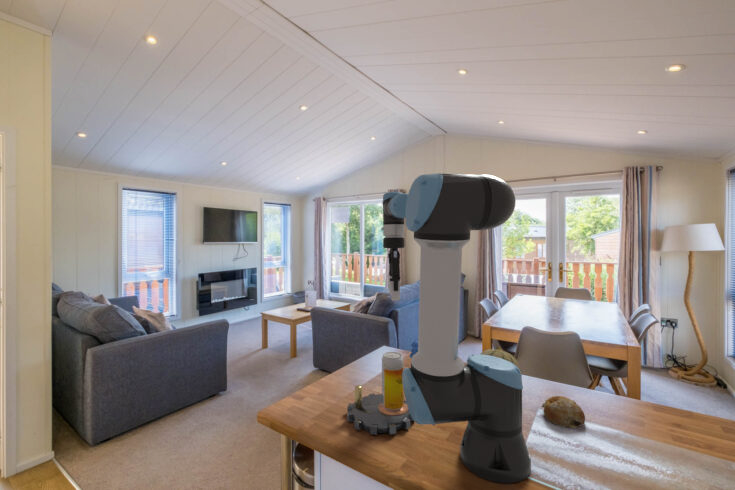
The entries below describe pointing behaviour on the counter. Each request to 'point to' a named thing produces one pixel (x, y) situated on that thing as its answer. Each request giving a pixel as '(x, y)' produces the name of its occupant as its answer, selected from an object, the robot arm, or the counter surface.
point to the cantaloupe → (502, 356)
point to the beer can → (392, 381)
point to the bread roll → (563, 412)
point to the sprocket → (376, 414)
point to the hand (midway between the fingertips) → (394, 297)
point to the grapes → (414, 348)
